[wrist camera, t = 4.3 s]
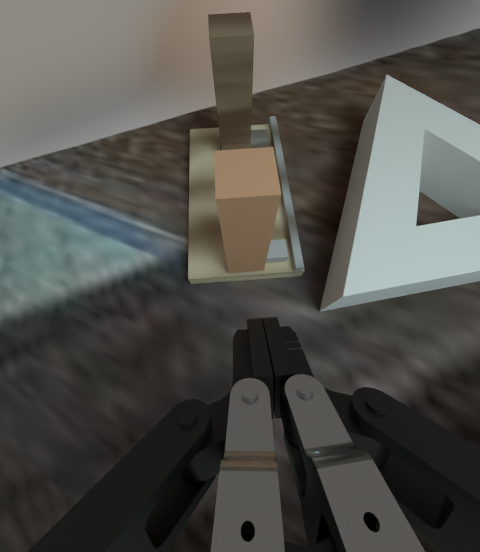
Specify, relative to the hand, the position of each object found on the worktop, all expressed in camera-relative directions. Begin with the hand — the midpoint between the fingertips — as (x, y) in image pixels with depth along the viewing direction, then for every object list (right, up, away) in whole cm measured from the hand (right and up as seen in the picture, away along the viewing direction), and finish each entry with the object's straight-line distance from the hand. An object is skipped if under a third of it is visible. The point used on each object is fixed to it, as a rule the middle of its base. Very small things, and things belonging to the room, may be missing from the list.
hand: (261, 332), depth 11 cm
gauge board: (-1, +13, +17) cm, 21 cm away
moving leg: (+1, +5, +12) cm, 13 cm away
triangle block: (+24, +8, +15) cm, 30 cm away
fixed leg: (-1, +20, +17) cm, 27 cm away
